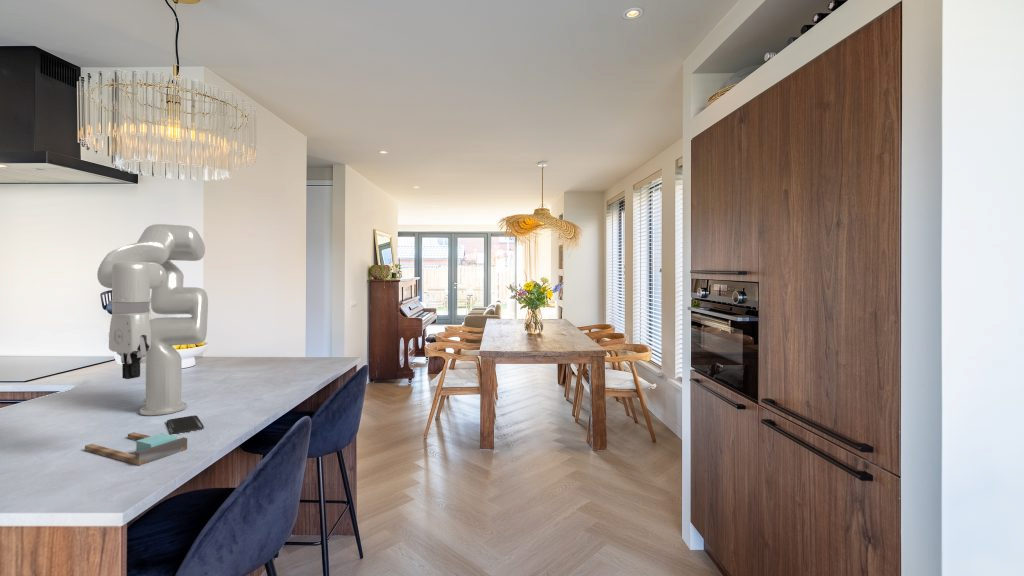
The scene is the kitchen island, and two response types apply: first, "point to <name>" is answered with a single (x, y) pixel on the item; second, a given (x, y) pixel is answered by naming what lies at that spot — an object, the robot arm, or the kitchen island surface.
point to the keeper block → (153, 441)
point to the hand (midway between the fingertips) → (131, 377)
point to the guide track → (142, 455)
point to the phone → (184, 424)
